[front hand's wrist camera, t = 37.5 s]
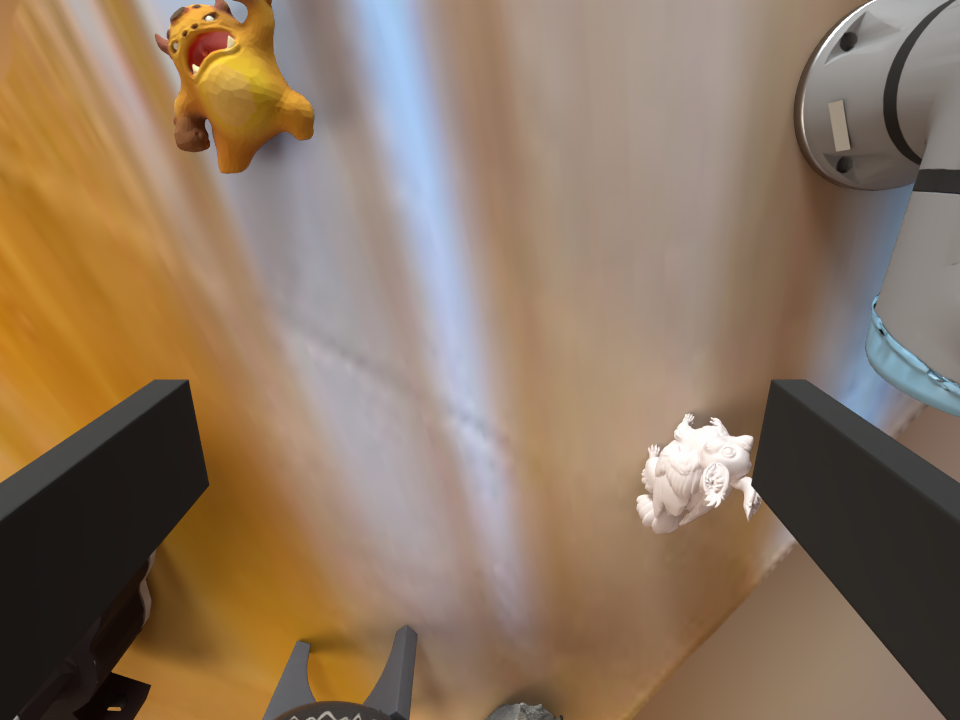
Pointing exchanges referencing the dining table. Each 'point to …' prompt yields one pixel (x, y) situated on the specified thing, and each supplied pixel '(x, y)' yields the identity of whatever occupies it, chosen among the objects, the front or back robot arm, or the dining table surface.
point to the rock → (522, 713)
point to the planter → (380, 716)
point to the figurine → (695, 476)
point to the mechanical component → (99, 664)
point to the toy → (231, 83)
